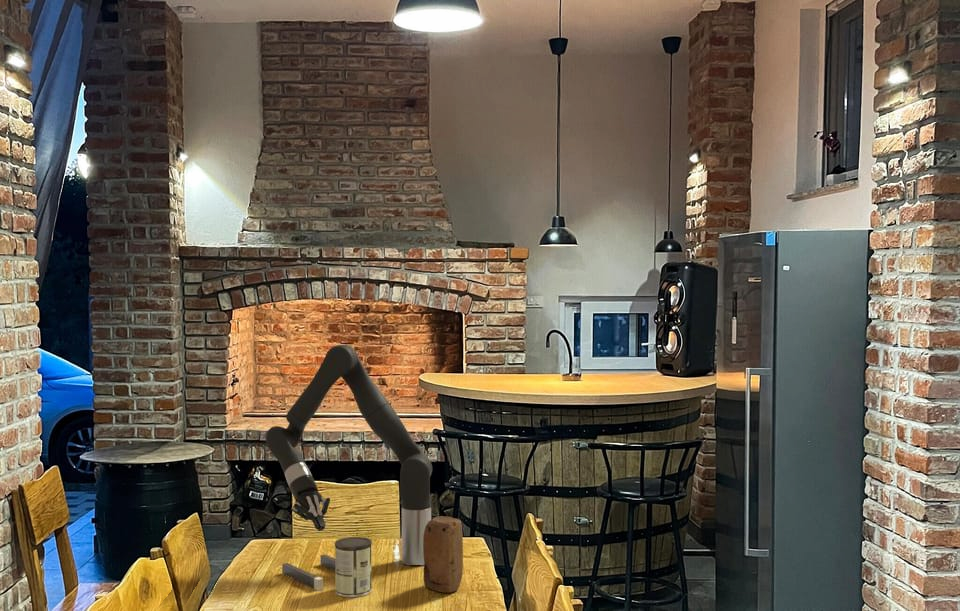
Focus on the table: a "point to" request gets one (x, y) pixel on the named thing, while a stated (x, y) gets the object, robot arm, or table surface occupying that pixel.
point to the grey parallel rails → (308, 577)
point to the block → (443, 554)
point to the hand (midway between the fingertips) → (322, 529)
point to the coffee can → (353, 566)
